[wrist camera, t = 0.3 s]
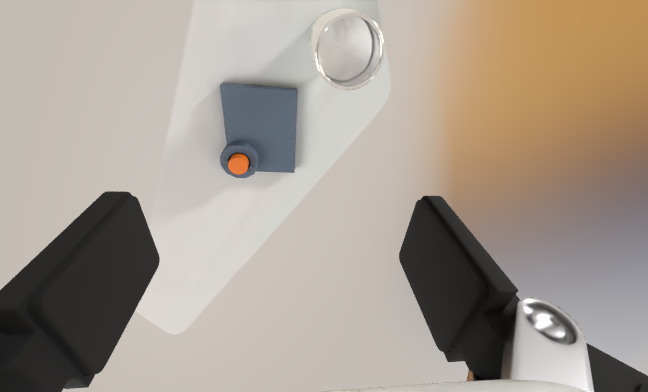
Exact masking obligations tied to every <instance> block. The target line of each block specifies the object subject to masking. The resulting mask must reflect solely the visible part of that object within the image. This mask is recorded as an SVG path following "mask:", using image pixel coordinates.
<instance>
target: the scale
mask: <svg viewBox="0 0 648 392" xmlns="http://www.w3.org/2000/svg"><path fill="white" fill-rule="evenodd" d="M220 89H221V98H222V106H223V115H224V123H225V131H226V140H227V145H226V146H225V148H224V150H223V152H222V154H221V156H220V161H221V166H222V167H223V169H224V170H225V171H226V172H227V173H228V174H230V175H232V176H234V177H236V178H246V177H249V176H251V175H253V174H254V173H255V171H263V172H291V173H294V165H295V139H296V112H297V89H296V88H283V87H271V86H258V85H245V84H232V83H221V85H220ZM236 153H241V154H244V155H245V156H246V157H247V158H248V160H249V165H248V169H247V171H246V172H245V173H244V174H240V175H238V174H234V173H232V172H231V171H230V170H229V168H228V163H229V160H230V158H231V156H232V155H234V154H236Z"/></svg>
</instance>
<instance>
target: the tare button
mask: <svg viewBox="0 0 648 392" xmlns="http://www.w3.org/2000/svg"><path fill="white" fill-rule="evenodd" d="M248 165H249V160H248V158H247V157H246V156H245V155H244V154H241V153H236V154H234V155H232V156H231V158H230V160H229V163H228V168H229V170H230V171H231V172H232V173H234V174H238V175H240V174H244V173H245V172H246V171H247V169H248Z"/></svg>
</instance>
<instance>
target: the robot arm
mask: <svg viewBox="0 0 648 392" xmlns="http://www.w3.org/2000/svg"><path fill="white" fill-rule="evenodd" d="M399 259H400V263H401V265H402V267H403V270H404V272H405V274H406V276H407V279H408V281H409V283H410V286H411V288H412V290H413V293H414V295H415V297H416V300H417V302H418V304H419V306H420V309H421V311H422V313H423V315H424V318H425V320H426V323H427V325H428V327H429V329H430V331H431V334H432V336H433V339H434V341H435V343H436V345H437V347H438V349H439V350H440V351H443V352H444V354H445V356H446V359H447V361H448V362H456V361H465V362H466V364H467V366H468V368H469V372H468V377H467V381H465V382H447V383H432V384H418V385H406V386H391V387H378V388H366V389H352V390H338V391H325V392H648V376H647V375H645V374H643V373H641V372H639V371H637V370H635V369H634V368H632V367H630V366H628V365H626V364H624V363H623V362H620V361H619V360H617V359H615V358H613V357H611V356H610V355H608V354H606V353H604V352H602V351H600V350H599V349H597V348H595V347H593V346H591V345H589V344H587V343H586V339H585V336H584V333H583V331H582V329H581V328H580V327H579V325H578V324H577V322H576V321H575V320H573V318H571V316H570V315H568V314H567V313H566V312H564V311H563V310H562V309H560V308H559V307H557V306H556V305H554V304H552V303H550V302H548V301H545V300H543V299H540V298H534V297H526V298H523V299H521V300H520V299H519V298H518V297H517V296H516V293H517V292H518V289H517V288H516V287H515V286H514V285H513V283H512V282H511V281H510V280H509V278H508V277H507V276H506V275H505V274H504V272H503V271H502V270H501V269H500V268H499V266H498V265H497V264H496V263H495V261H494V260H493V259H492V258H491V256H490V255H489V254H488V253H487V252H486V250H485V249H484V248H483V247H482V245H481V244H480V243H479V242H478V241H477V240H476V238H475V237H474V236H473V234H472V233H471V232H470V231H469V230H468V229H467V227H466V226H465V225H464V223H463V222H462V221H461V220H460V219H459V217H458V216H457V215H456V214H455V212H454V211H453V210H452V209H451V208H450V206H449V205H448V204H447V203H446V202H445V200H444V199H443V198H442V197H441V196H423V197H422V199H421V200H418V201H417V203H416V205H415V208H414V211H413V214H412V217H411V221H410V223H409V226H408V229H407V232H406V235H405V238H404V241H403V244H402V247H401V250H400V254H399ZM158 265H159V254H158V252H157V249H156V246H155V244H154V241H153V238H152V236H151V233H150V230H149V228H148V225H147V222H146V219H145V217H144V214H143V212H142V209H141V206H140V204H139V201H138V199H137V198H136V197H134V196H132V195H131V194H130V193H129V192H105V193H103V194H102V195H101V196H100V197H99V198H98V199H97V200H96V201H94V202H93V203H92V204H91V205H90V206H89V207H88V208H87V209H86V210H85V211H84V212H83V213H82V214H81V215H80V216H79V217H78V218H76V219H75V220H74V221H73V222H72V223H71V224H70V225H69V226H68V227H67V228H66V229H65V230H64V231H63V232H62V233H61V234H59V235H58V236H57V237H56V238H55V239H54V240H53V241H52V242H51V243H50V244H49V245H48V246H47V247H46V248H45V249H44V250H43V251H42V252H40V253H39V254H38V255H37V256H36V257H35V258H34V259H33V260H32V261H31V262H30V263H29V264H28V265H27V266H26V267H24V268H23V269H22V270H21V271H20V272H19V273H18V274H17V275H16V276H15V277H14V278H13V279H12V280H11V281H10V282H9V283H8V284H6V285H5V286H4V287H3V288H2V289H1V290H0V392H61V391H62V390H63V388H65V389H70V388H84V387H89V385H90V383H91V381H92V379H93V378H94V375H95V374H98V373H99V372H101V371H102V370H103V368H104V366H105V365H106V363H107V361H108V359H109V358H110V356H111V354H112V352H113V350H114V348H115V346H116V345H117V343H118V341H119V339H120V337H121V335H122V333H123V331H124V329H125V328H126V326H127V324H128V322H129V320H130V318H131V316H132V315H133V313H134V311H135V309H136V307H137V305H138V303H139V301H140V300H141V298H142V296H143V294H144V292H145V290H146V288H147V287H148V285H149V283H150V281H151V279H152V277H153V275H154V273H155V272H156V270H157V268H158Z"/></svg>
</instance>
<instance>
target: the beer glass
mask: <svg viewBox="0 0 648 392" xmlns="http://www.w3.org/2000/svg"><path fill="white" fill-rule="evenodd" d="M310 44H311V56H312V60H313V63H314V65H315V67H316V69H317V70H318V72H319V73H320V75H321V76H322V77H323V78H324V80H325V81H326V82H327V83H329V84H330V85H331V86H333V87H335V88H337V89H341V90H354V89H358V88H360V87H362V86H364V85H366V84H367V83H368V82H370V81H371V80H372V79H373V78H374V76H375V75H376V74H377V72H378V71H379V69H380V67H381V64H382V61H383V57H384V40H383V36H382V33H381V31H380V29H379V27H378V26H377V24H376V23H375V22H374V21H373V20H372V19H371V18H370V17H368V16H366V15H365V14H362V13H361V12H359V11H356V10H352V9H337V10H334V11H331V12H328V13H325V14H323V15H321V16H320V17H319V18H318V19H317V20H316V21H315V22H314V24H313V26H312V28H311V32H310Z"/></svg>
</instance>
